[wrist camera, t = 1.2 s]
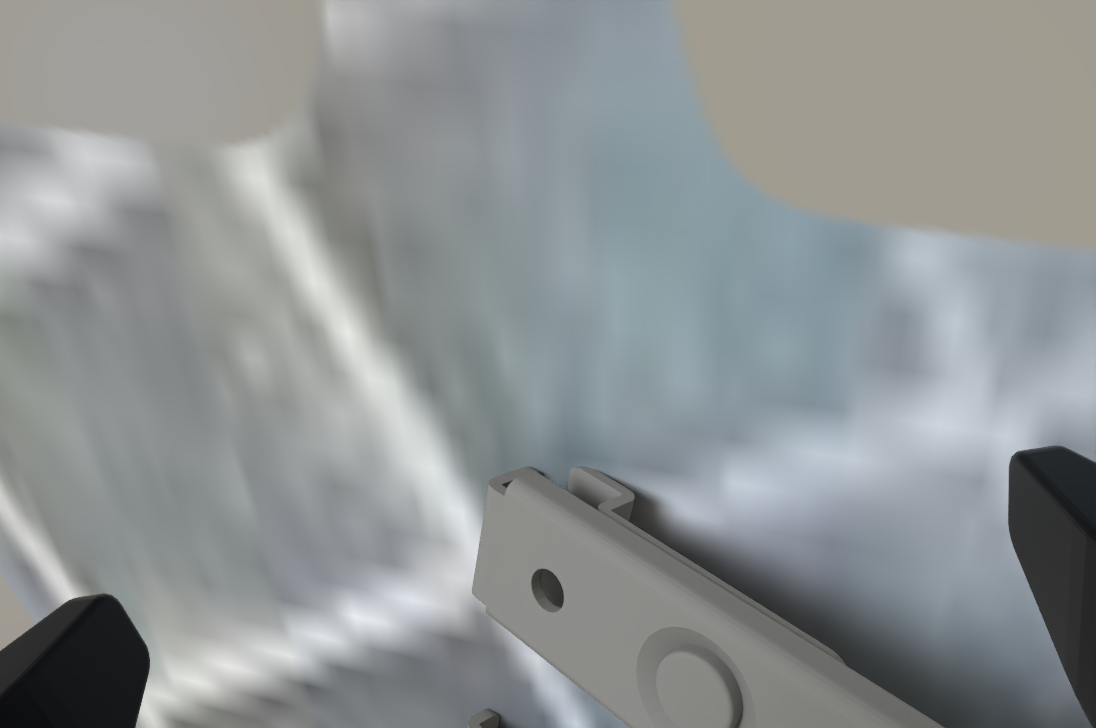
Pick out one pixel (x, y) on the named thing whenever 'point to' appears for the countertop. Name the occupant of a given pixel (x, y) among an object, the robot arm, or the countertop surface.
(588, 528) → the bracket
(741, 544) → the countertop surface
